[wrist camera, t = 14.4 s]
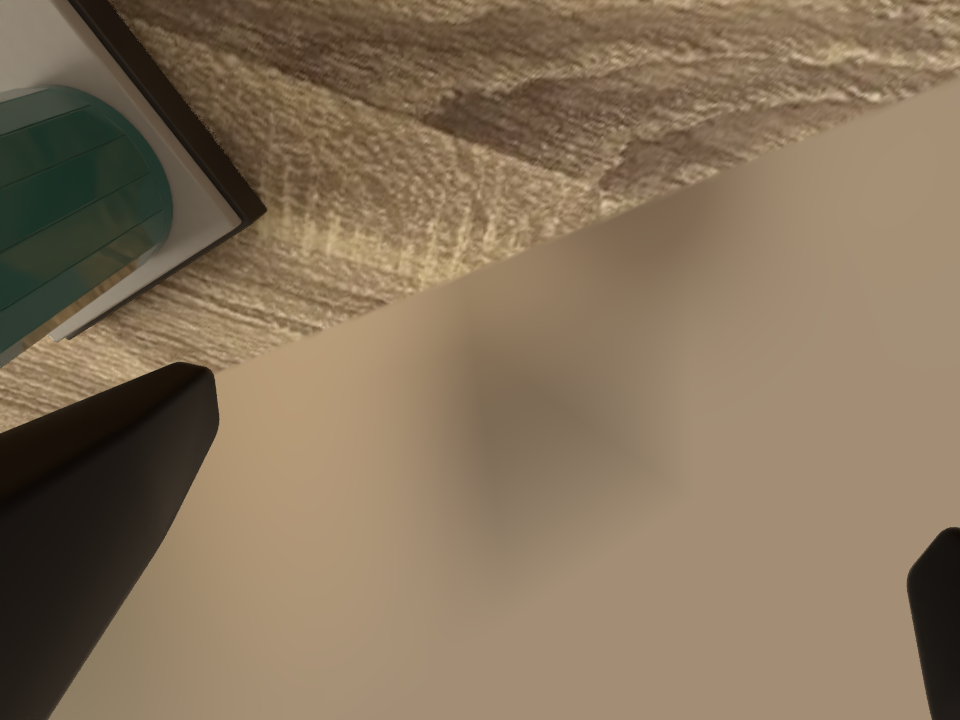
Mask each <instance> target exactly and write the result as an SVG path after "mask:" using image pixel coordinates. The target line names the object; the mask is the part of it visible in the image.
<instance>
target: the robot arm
mask: <svg viewBox="0 0 960 720" xmlns="http://www.w3.org/2000/svg"><path fill="white" fill-rule="evenodd" d="M218 426H219V410H218V402H217V394H216V386H215V379H214V374H213V373H212V371H211V370H210V369H209V368H207V367H204V366H199V365H194V364H190V363H185V362H176V363H173V364H170V365H168V366H165V367H163V368H160V369H158V370H155V371H153V372H150V373H148V374H145V375H143V376H140V377H138V378H136V379H133V380H131V381H128V382H126V383H123V384H121V385H118V386H116V387H113V388H111V389H109V390H106V391H104V392H101V393H99V394H96V395H94V396H91V397H89V398H86V399H84V400H81V401H79V402H77V403H74V404H72V405H69V406H67V407H64V408H62V409H59V410H57V411H54V412H52V413H50V414H47V415H45V416H42V417H40V418H37V419H35V420H32V421H30V422H27V423H25V424H23V425H20V426H18V427H15V428H13V429H10V430H8V431H5V432H3V433H0V720H48V719H49V717H50V715H51V714H52V712H53V711H54V709H55V708H56V706H57V705H58V703H59V702H60V700H61V698H62V697H63V695H64V694H65V692H66V691H67V689H68V688H69V686H70V685H71V683H72V681H73V680H74V678H75V677H76V675H77V674H78V672H79V671H80V669H81V667H82V666H83V664H84V663H85V661H86V660H87V658H88V657H89V655H90V654H91V652H92V650H93V649H94V647H95V646H96V644H97V643H98V641H99V640H100V638H101V637H102V635H103V633H104V632H105V630H106V629H107V627H108V626H109V624H110V622H111V621H112V619H113V618H114V616H115V615H116V613H117V611H118V610H119V609H120V607H121V605H122V604H123V602H124V600H125V599H126V598H127V596H128V595H129V593H130V592H131V590H132V588H133V587H134V585H135V584H136V582H137V581H138V579H139V578H140V576H141V575H142V573H143V571H144V570H145V568H146V567H147V565H148V564H149V562H150V561H151V559H152V558H153V556H154V554H155V553H156V551H157V549H158V548H159V546H160V544H161V543H162V541H163V540H164V538H165V536H166V534H167V532H168V530H169V528H170V527H171V525H172V523H173V521H174V519H175V517H176V515H177V513H178V511H179V509H180V507H181V505H182V503H183V501H184V499H185V497H186V495H187V493H188V491H189V489H190V486H191V485H192V482H193V481H194V479H195V477H196V475H197V473H198V471H199V468H200V467H201V465H202V463H203V461H204V458H205V456H206V455H207V453H208V451H209V448H210V447H211V444H212V443H213V441H214V438H215V436H216V434H217V431H218ZM907 593H908V598H909V603H910V609H911V614H912V620H913V625H914V631H915V636H916V641H917V647H918V652H919V658H920V663H921V669H922V674H923V680H924V685H925V690H926V695H927V700H928V704H929V709H930V713H931V718H932V720H960V528H958V527H950V528H947V529H945V530H943V531H942V532H941V533H939V535H938V536H937V537H936V538H935V539H934V541H933V542H932V543H931V544H930V545H929V547H928V548H927V549H926V550H925V551H924V553H923V554H922V555H921V556H920V558H919V559H918V560H917V561H916V562H915V563H914V565H913V566H912V567H911V569H910V571H909V573H908V578H907Z"/></svg>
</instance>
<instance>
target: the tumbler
mask: <svg viewBox="0 0 960 720" xmlns="http://www.w3.org/2000/svg"><path fill="white" fill-rule="evenodd" d="M172 219H173V202H172V195H171V191H170V186H169V183H168V180H167V177H166V174H165V172H164V170H163V168H162V165H161V163H160V161H159V159H158V158H157V156H156V154H155V153H154V151H153V149H152V148H151V146H150V145H149V144H148V142H147V141H146V140H145V138H144V137H143V136H142V134H141V133H140V132H139V131H138V130H137V129H136V128H135V127H134V126H133V125H132V124H131V123H130V122H129V121H128V120H127V119H126V118H125V117H124V116H123V115H122V114H120V113H119V112H118V111H116V110H115V109H114V108H113V107H111V106H110V105H108V104H107V103H105V102H103V101H102V100H100V99H99V98H97V97H95V96H93V95H91V94H88V93H86V92H84V91H81V90H78V89H75V88H72V87H68V86H63V85H56V84H41V85H35V86H31V87H27V88H16V89H12V90H8V91H5V92H1V93H0V368H2V367H3V366H4V365H6V364H7V363H9V362H10V361H11V360H13V359H14V358H15V357H17V356H18V355H20V354H21V353H22V352H24V351H25V350H26V349H28V348H29V347H31V346H32V345H33V344H35V343H36V342H38V341H39V340H40V339H42V338H43V337H44V336H46V335H47V334H49V333H50V332H51V331H53V330H54V329H55V328H57V327H58V326H60V325H61V324H62V323H64V322H65V321H67V320H68V319H69V318H71V317H72V316H73V315H75V314H76V313H78V312H79V311H80V310H82V309H83V308H84V307H86V306H87V305H89V304H90V303H91V302H93V301H94V300H95V299H97V298H98V297H100V296H101V295H102V294H104V293H105V292H107V291H108V290H109V289H111V288H112V287H113V286H115V285H116V284H118V283H119V282H120V281H122V280H123V279H124V278H126V277H127V276H129V275H130V274H131V273H133V272H134V271H136V270H137V269H138V268H140V267H141V266H142V265H144V264H145V263H146V262H147V261H148V259H149V258H151V257H152V256H153V255H155V254H156V253H157V252H158V251H159V250H160V249H161V247H162V246H163V245H164V243H165V241H166V240H167V238H168V235H169V232H170V230H171V226H172Z"/></svg>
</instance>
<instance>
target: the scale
mask: <svg viewBox="0 0 960 720" xmlns="http://www.w3.org/2000/svg"><path fill="white" fill-rule="evenodd" d="M41 84H56V85H63V86H68V87H72V88H75V89H78V90H81V91H84V92H86V93H88V94H91V95H93V96H95V97H97V98H99V99H100V100H102V101H103V102H105V103H107V104H108V105H110V106H111V107H113V108H114V109H115V110H116V111H118V112H119V113H120V114H122V115H123V116H124V117H125V118H126V119H127V120H128V121H129V122H130V123H131V124H132V125H133V126H134V127H135V128H136V129H137V130H138V131H139V132H140V133H141V134H142V136H143V137H144V138H145V140H146V141H147V142H148V144H149V145H150V146H151V148H152V149H153V151H154V153H155V154H156V156H157V158H158V159H159V161H160V163H161V165H162V168H163V170H164V172H165V174H166V177H167V180H168V183H169V186H170V191H171V195H172V202H173V219H172V226H171V230H170V232H169V235H168V238H167V240H166V241H165V243H164V245H163V246H162V247H161V249H160V250H159V251H158V252H157V253H156V254H155V255H153V256H152V257H151V258H149V259H148V261H147V262H146V263H145V264H144V265H142V266H141V267H140V268H138V269H137V270H136V271H134V272H133V273H131V274H130V275H129V276H127V277H126V278H124V279H123V280H122V281H120V282H119V283H118V284H116V285H115V286H113V287H112V288H111V289H109V290H108V291H107V292H105V293H104V294H102V295H101V296H100V297H98V298H97V299H95V300H94V301H93V302H91V303H90V304H89V305H87V306H86V307H84V308H83V309H82V310H80V311H79V312H78V313H76V314H75V315H73V316H72V317H71V318H69V319H68V320H67V321H65V322H64V323H62V324H61V325H60V326H58V327H57V328H55V329H54V330H53V331H51V332H50V333H49V334H47V335H48V336H49V337H50V338H52V339H53V340H54V341H55V342H59V341H60V340H62V339H64V338H66V339H67V340H71V339H72V338H74V337H75V336H77V335H78V334H80V333H82V332H83V331H85V330H86V329H88V328H89V327H91V326H93V325H94V324H96V323H97V322H99V321H100V320H102V319H104V318H105V317H107V316H108V315H110V314H111V313H113V312H115V311H116V310H118V309H119V308H121V307H122V306H124V305H126V304H127V303H129V302H130V301H132V300H133V299H135V298H137V297H138V296H140V295H141V294H143V293H144V292H146V291H148V290H149V289H151V288H152V287H154V286H155V285H157V284H159V283H160V282H162V281H163V280H165V279H166V278H168V277H170V276H171V275H173V274H174V273H176V272H177V271H179V270H181V269H182V268H184V267H185V266H187V265H188V264H190V263H192V262H193V261H195V260H196V259H198V258H199V257H201V256H203V255H204V254H206V253H207V252H209V251H210V250H212V249H214V248H215V247H217V246H218V245H220V244H221V243H223V242H225V241H226V240H228V239H229V238H231V237H232V236H234V235H236V234H237V233H239V232H240V231H242V230H243V229H245V228H247V227H248V226H250V225H251V224H253V223H254V222H255V221H256V220H257V219H259V218H260V217H261V216H262V215H263V214H265V213H266V212H267V209H266V208H265V206H264V205H263V204H262V202H261V201H260V200H259V198H258V197H257V196H256V194H255V193H254V192H253V191H252V189H251V188H250V187H249V185H248V184H247V183H246V181H245V180H244V179H243V177H242V176H241V175H240V174H239V172H238V171H237V170H236V168H235V167H234V166H233V164H232V163H231V162H230V160H229V159H228V158H227V157H226V155H225V154H224V153H223V151H222V150H221V149H220V147H219V146H218V145H217V143H216V142H215V141H214V140H213V138H212V137H211V136H210V134H209V133H208V132H207V130H206V129H205V128H204V126H203V125H202V124H201V123H200V121H199V120H198V119H197V117H196V116H195V115H194V113H193V112H192V111H191V109H190V108H189V107H188V106H187V104H186V103H185V102H184V100H183V99H182V98H181V96H180V95H179V94H178V92H177V91H176V90H175V89H174V87H173V86H172V85H171V83H170V82H169V81H168V79H167V78H166V77H165V75H164V74H163V73H162V72H161V70H160V69H159V68H158V66H157V65H156V64H155V62H154V61H153V60H152V58H151V57H150V56H149V55H148V53H147V52H146V51H145V49H144V48H143V47H142V45H141V44H140V43H139V41H138V40H137V39H136V38H135V36H134V35H133V34H132V32H131V31H130V30H129V28H128V27H127V26H126V24H125V23H124V22H123V21H122V19H121V18H120V17H119V15H118V14H117V13H116V11H115V10H114V9H113V7H112V6H111V5H110V4H109V2H108V1H107V0H0V93H1V92H5V91H8V90H12V89H16V88H27V87H31V86H35V85H41Z"/></svg>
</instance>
